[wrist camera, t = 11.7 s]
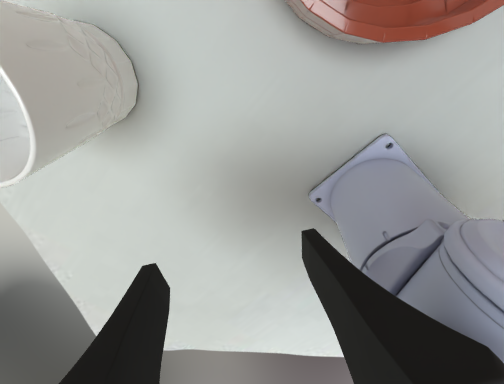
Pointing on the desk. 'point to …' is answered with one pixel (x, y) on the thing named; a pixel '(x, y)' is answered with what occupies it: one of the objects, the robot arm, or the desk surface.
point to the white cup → (55, 88)
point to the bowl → (390, 17)
